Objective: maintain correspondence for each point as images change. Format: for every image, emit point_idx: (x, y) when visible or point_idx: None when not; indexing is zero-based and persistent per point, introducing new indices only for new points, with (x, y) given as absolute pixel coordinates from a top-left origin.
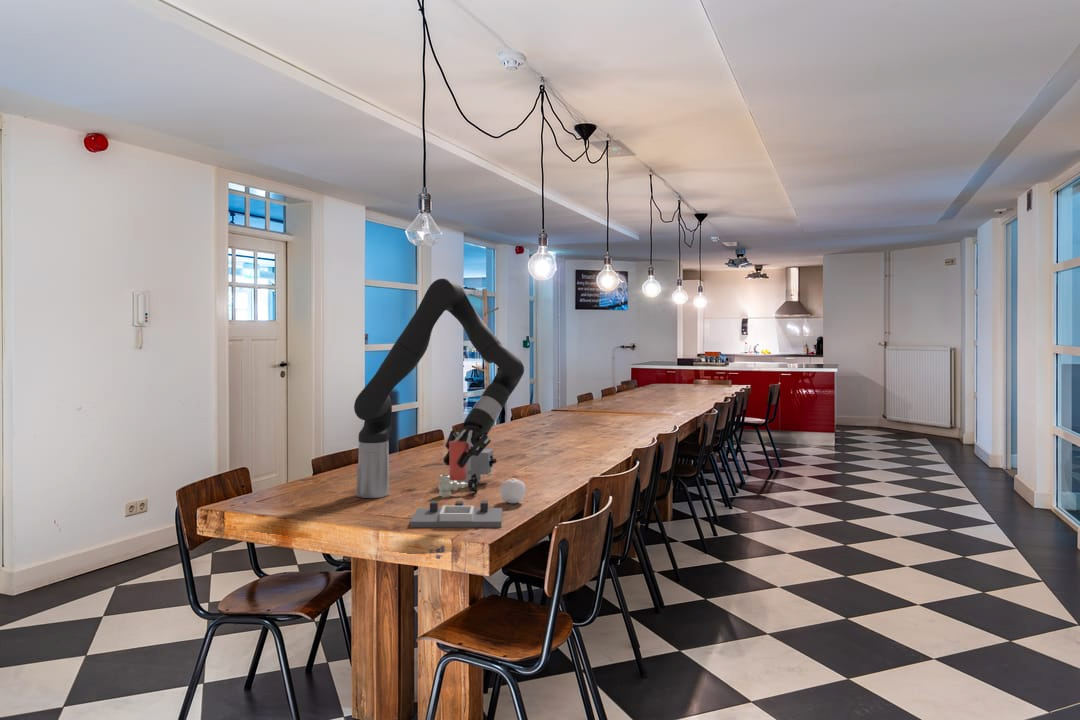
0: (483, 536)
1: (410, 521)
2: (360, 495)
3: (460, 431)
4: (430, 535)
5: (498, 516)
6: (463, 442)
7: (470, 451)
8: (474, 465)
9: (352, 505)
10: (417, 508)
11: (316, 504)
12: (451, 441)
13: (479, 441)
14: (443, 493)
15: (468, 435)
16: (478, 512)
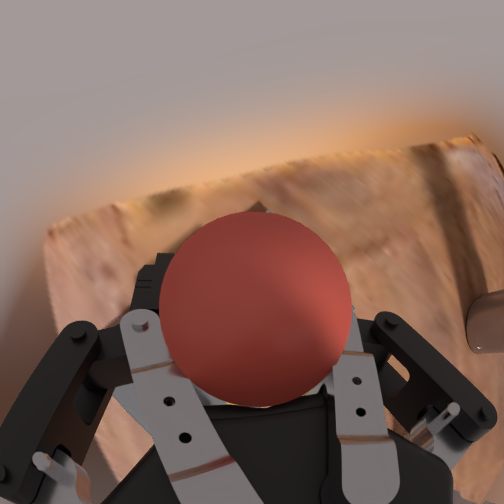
0: (74, 271)
1: (267, 210)
2: (481, 297)
3: (431, 468)
4: (176, 199)
5: (125, 398)
6: (174, 317)
7: (111, 335)
8: None
9: (454, 255)
10: (352, 305)
11: (473, 223)
12: (332, 279)
13: (33, 410)
14: (408, 438)
15: (226, 462)
16: (199, 396)
